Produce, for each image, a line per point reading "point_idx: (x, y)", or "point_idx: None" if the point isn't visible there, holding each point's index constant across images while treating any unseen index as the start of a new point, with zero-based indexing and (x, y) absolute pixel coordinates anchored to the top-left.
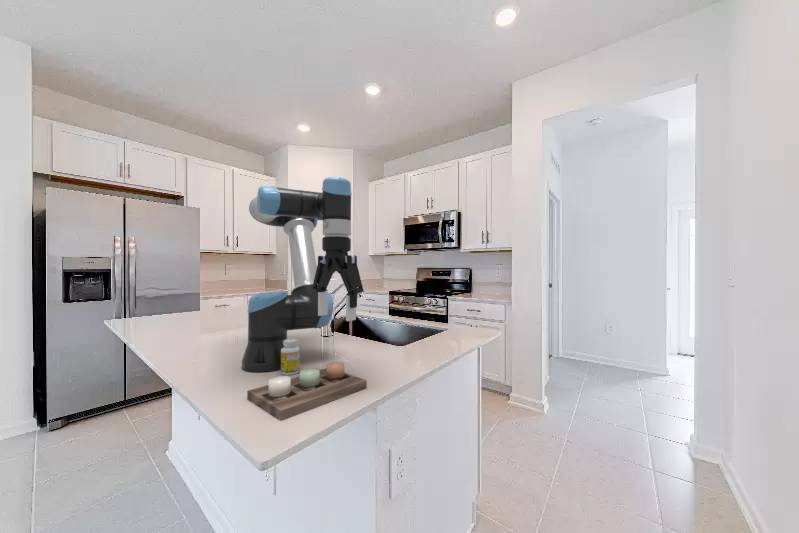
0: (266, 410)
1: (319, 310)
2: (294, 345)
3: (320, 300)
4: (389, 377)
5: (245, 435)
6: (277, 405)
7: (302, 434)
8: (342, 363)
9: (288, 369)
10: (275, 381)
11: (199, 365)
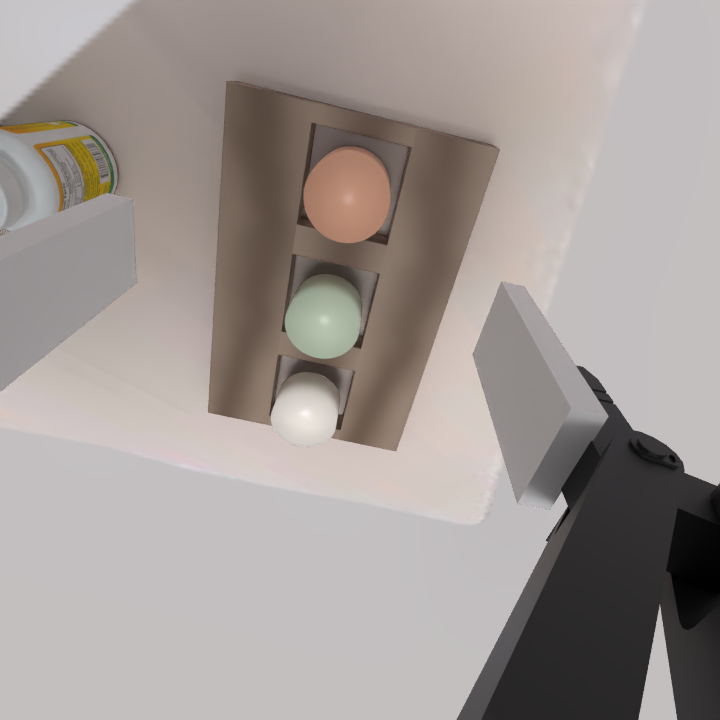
0: None
1: (110, 300)
2: (21, 193)
3: (55, 338)
4: None
5: (381, 493)
6: (364, 437)
7: (484, 453)
8: (369, 173)
9: None
10: (306, 435)
11: None
